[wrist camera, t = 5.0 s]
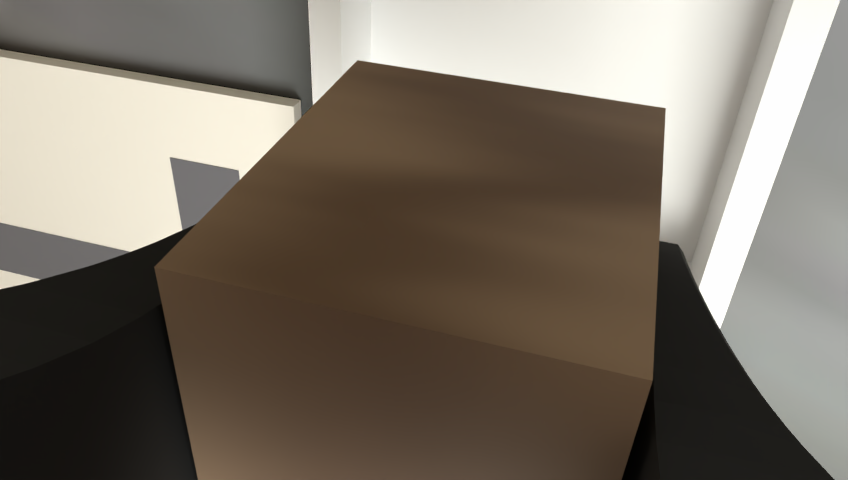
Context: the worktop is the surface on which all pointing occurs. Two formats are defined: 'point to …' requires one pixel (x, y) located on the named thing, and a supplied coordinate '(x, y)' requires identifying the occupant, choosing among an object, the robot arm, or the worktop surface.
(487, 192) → the walnut block
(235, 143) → the letter board
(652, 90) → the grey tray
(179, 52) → the worktop surface
